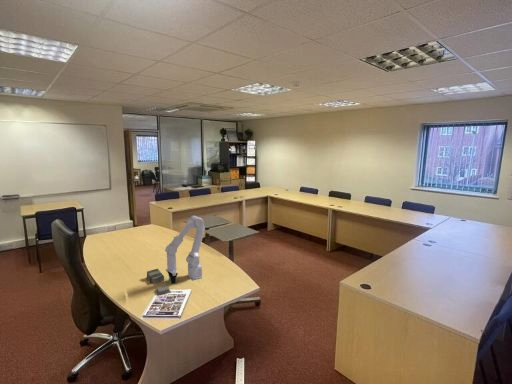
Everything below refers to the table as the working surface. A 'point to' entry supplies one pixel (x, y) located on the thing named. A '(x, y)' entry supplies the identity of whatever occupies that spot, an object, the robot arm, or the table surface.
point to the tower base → (163, 293)
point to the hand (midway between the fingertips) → (172, 281)
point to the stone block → (155, 276)
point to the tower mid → (163, 289)
